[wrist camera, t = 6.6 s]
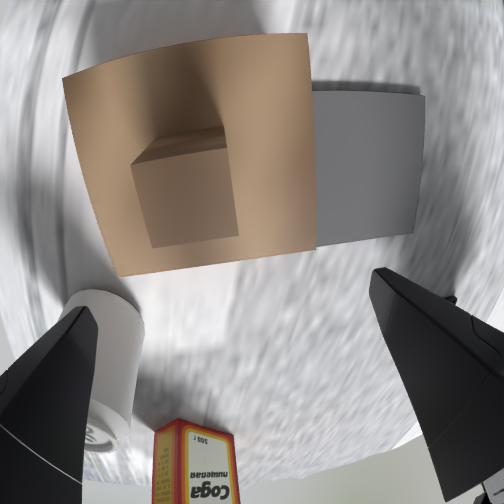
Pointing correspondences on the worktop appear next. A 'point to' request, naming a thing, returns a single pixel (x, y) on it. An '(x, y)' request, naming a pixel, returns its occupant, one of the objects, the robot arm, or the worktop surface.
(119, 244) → the lid
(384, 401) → the worktop surface
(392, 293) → the robot arm
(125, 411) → the can
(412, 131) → the mat
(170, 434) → the baking soda box
